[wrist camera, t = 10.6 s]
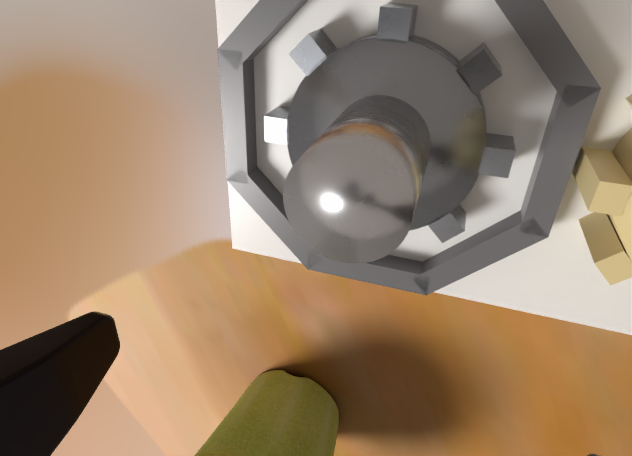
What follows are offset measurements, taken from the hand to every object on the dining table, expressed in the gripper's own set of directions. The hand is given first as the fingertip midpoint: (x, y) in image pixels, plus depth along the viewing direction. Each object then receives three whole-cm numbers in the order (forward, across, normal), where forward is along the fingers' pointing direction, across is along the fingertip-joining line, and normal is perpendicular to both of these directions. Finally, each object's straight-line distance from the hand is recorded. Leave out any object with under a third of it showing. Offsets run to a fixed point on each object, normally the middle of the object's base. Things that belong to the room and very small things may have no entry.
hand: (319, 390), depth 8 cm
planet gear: (+12, +1, -1) cm, 12 cm away
